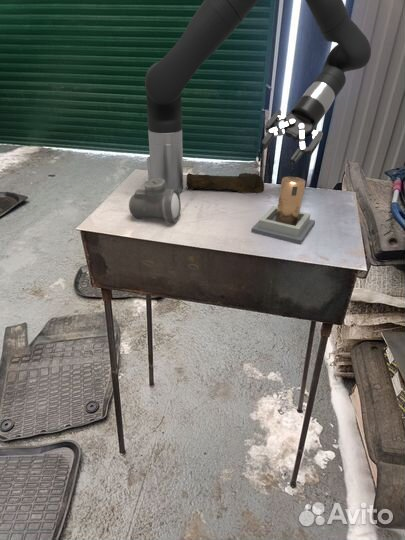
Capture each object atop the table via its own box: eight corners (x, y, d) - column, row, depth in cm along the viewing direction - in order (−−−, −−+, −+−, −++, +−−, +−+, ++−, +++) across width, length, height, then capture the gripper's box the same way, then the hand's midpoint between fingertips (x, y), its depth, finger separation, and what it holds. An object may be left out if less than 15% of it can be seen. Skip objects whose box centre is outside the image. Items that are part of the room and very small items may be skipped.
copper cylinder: (276, 229, 89) (283, 183, 83) (273, 219, 94) (280, 175, 88) (298, 230, 89) (307, 185, 83) (295, 220, 94) (303, 177, 88)
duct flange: (251, 232, 90) (252, 220, 89) (268, 214, 99) (270, 203, 98) (300, 244, 85) (302, 232, 84) (314, 224, 94) (316, 213, 93)
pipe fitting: (184, 212, 98) (178, 174, 92) (175, 228, 92) (168, 189, 86) (141, 212, 101) (133, 175, 95) (130, 227, 95) (120, 189, 89)
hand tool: (185, 191, 112) (185, 173, 109) (188, 185, 116) (188, 168, 113) (262, 197, 110) (264, 178, 107) (263, 191, 114) (265, 173, 110)
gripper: (289, 84, 98) (252, 134, 97) (339, 108, 93) (300, 160, 93) (290, 103, 105) (255, 149, 104) (335, 125, 100) (300, 174, 100)
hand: (276, 154), depth 98 cm, fingers open, 8 cm apart
